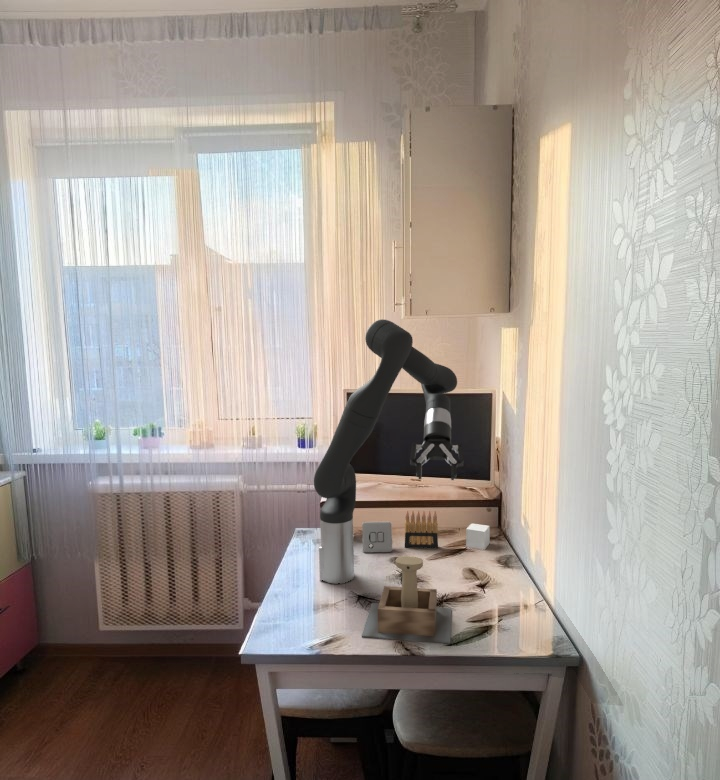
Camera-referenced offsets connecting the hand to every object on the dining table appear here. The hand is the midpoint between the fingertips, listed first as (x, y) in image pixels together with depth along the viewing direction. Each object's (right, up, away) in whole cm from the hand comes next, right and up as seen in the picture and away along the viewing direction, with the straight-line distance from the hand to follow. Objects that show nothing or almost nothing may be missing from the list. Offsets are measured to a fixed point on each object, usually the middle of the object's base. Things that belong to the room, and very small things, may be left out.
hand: (436, 478), depth 153 cm
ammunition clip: (0, -28, +34) cm, 44 cm away
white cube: (+18, -27, +35) cm, 48 cm away
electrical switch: (-15, -28, +32) cm, 45 cm away
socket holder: (-8, -32, -14) cm, 36 cm away
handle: (-8, -32, -14) cm, 36 cm away
